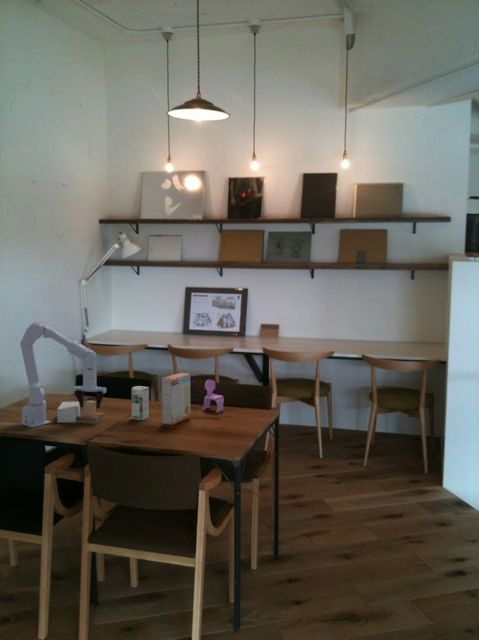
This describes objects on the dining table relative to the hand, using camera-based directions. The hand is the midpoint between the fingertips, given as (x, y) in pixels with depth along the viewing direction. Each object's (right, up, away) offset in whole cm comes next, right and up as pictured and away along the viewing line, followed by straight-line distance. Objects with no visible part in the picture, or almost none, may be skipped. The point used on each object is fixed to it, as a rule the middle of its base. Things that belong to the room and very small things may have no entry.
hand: (90, 407), depth 252 cm
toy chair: (+54, -5, +20) cm, 58 cm away
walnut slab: (0, -6, +1) cm, 6 cm away
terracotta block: (0, -3, 0) cm, 3 cm away
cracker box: (+38, -7, +2) cm, 39 cm away
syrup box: (+21, -6, +5) cm, 23 cm away
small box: (-11, -2, +9) cm, 14 cm away
